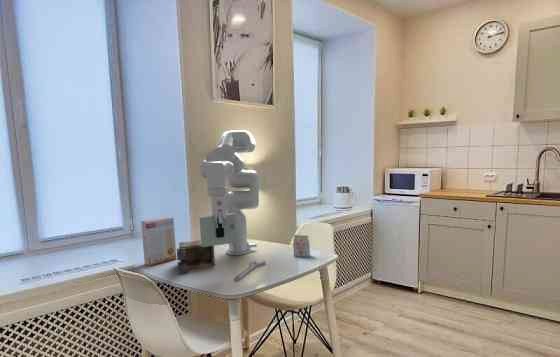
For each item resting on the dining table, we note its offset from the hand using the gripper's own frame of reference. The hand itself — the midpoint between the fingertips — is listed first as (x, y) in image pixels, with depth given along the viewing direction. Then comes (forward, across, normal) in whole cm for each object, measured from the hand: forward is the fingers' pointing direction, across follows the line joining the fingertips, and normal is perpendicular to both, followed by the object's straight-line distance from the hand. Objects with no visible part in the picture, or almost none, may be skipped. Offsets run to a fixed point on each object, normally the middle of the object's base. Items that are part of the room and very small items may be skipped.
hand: (219, 236), depth 141 cm
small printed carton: (+17, +11, -40) cm, 45 cm away
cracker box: (+17, +32, +25) cm, 44 cm away
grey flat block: (+3, 0, 0) cm, 3 cm away
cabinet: (+16, +16, +9) cm, 25 cm away
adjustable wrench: (+17, 0, -11) cm, 20 cm away
